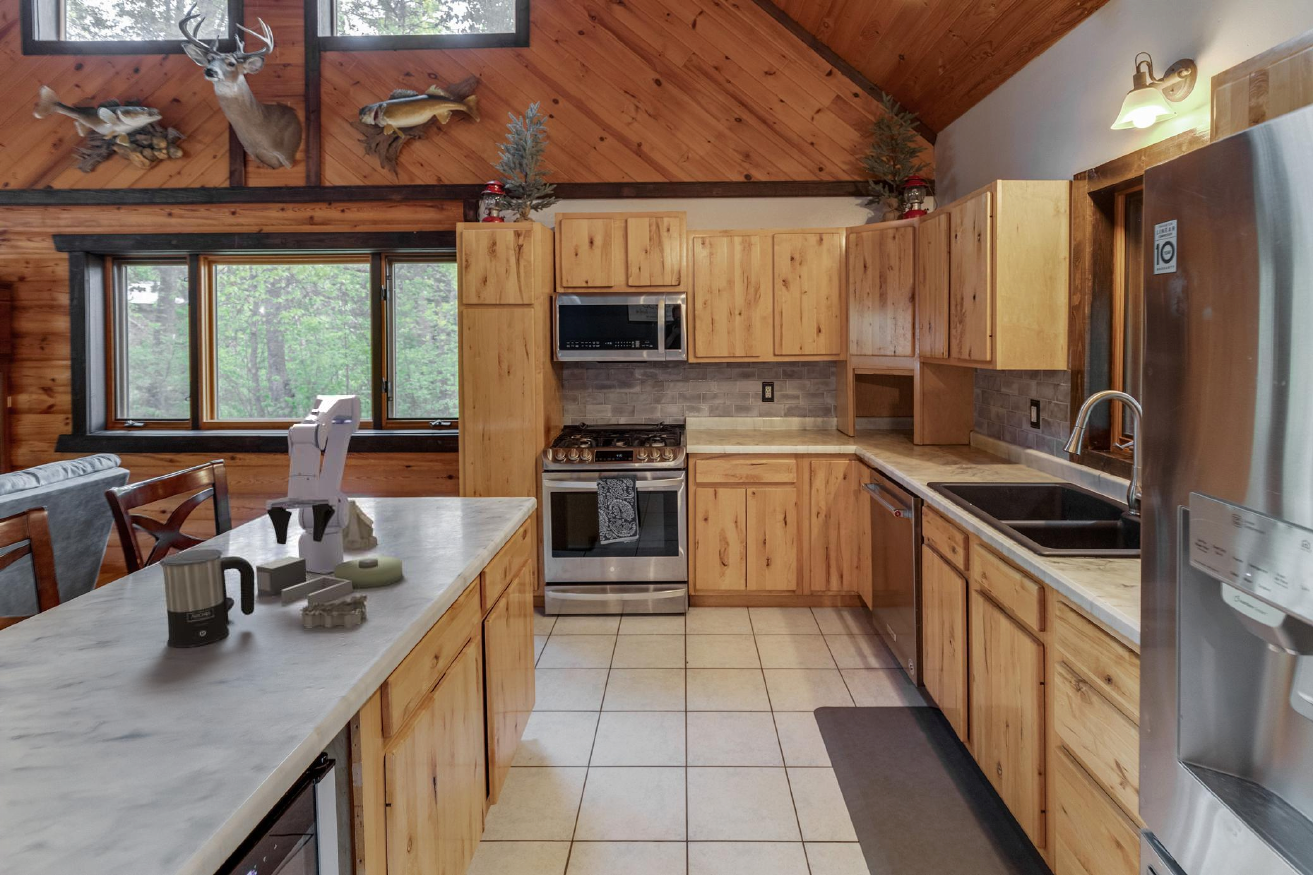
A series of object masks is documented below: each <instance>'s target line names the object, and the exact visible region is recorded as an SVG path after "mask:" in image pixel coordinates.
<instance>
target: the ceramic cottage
mask: <svg viewBox="0 0 1313 875" xmlns="http://www.w3.org/2000/svg"><path fill="white" fill-rule="evenodd" d="M348 500H349V499H348ZM349 503H350V507H349V523H348V525H347V526H346V527H345V528H344V529H342V537H343V551H360V550H368V549H372V548H374V547H376V546H377V545H378V542H379V541H378V538H377V536H376V535H374V528H373V526H372V525H373V524H374V521H373V519H372V518H371V517H369V516H368V515H367V514H366V513H365V512H364V511H363V510H362V509H361V507H360V506H359V505H358V504H357V503H356V500H355V499H350V500H349ZM367 548H368V549H367Z"/></svg>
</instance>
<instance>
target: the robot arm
mask: <svg viewBox="0 0 1313 875" xmlns="http://www.w3.org/2000/svg"><path fill="white" fill-rule="evenodd" d="M313 408H314V409H312V410H311V411H310V412H309V413H308V414H307V415H306V416H305V418H304V419H303V420H302V421H301V422H300V423H297V424H296V423H295V424H293V426H290V427H289V429H288V432H287V443H288V444H287V445H288V457H290V462H289V475H288V486H287V487H288V488H287V497H282V498H277V499H268V500H265V501H266V502H265V510H267V515H268V517H269V519H270V521H271V523H272V526H273V529H274V532H275V538H276V544H278V545H286V543H287V540H288V529H289V524H290V520H291V517H292V514H293V512H292V511H291V510H292V509H293V510H294V509H295V510H297V509H298V525H299V527H300V528H301V529H302V530H303V532H302V533H301V534H300V536H299V538H298V542H297V543H298V558H303V559H305V560H306V572H311V573H316V574H323V575H326V574H327V575H328V574H331V573H334V568H335V567H336V566H337V565H339V564H341V563H343V562H345V561H344V558H345V556H344V550H343V537H342V529H344V528H345V527H346V526H347V525H348V523H349V507H350V503H349V498H348V496H347V495H346V494H345V493H343V491H341V485H342V480H343V475H344V470H345V465H346V458H347V455H348V449H349V448H348V447H349V444H350V440H351V438H352V437H351V436H352V435H353V434H355V433H357V432H358V431H359V427H360V423H361V419H362V418H361V417H362V402H361V399H360V397H359V396H358V395H357V394H353V395H322V394H319V395H317V397H315V400H314V407H313ZM324 450H325V452H324V456H323V460H322V461H323V462H322V466H321V454H322V453H321V452H322V451H324ZM320 468H321V470H320ZM289 510H290V511H289Z"/></svg>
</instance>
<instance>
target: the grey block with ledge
mask: <svg viewBox="0 0 1313 875" xmlns="http://www.w3.org/2000/svg"><path fill="white" fill-rule="evenodd" d="M255 568H256V570H255V571H256V584H257V595H263V596H268V597H273V596H275V597H277V596H282V593H281V590H283V589H286V588H289V587H292V586H295V585H298V584H301V583H304V582H307V580H308V578H307V571H306V560H305V559H303V558H299V557H297V556H296V557H295V556H291V555H290V556H289V555H288V556H286V557H282V558H279V559H276V560H272V561H269V562H266V563H262V564H259V565H256V566H255Z"/></svg>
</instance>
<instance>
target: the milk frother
mask: <svg viewBox="0 0 1313 875" xmlns="http://www.w3.org/2000/svg"><path fill="white" fill-rule="evenodd" d="M222 555H223V551H222V550H219V549H195V550H194V549H193V550H188V551H182V552H178V553H174V554H170V555H167V556H165V557H163V558H161V560H160V561H159V562H158V563H159V565H160V566H161V567H162V569H163V571H162V572H163V582H164V591H165V593H164V594H165V600H166V601H165V602H166V611H167V627H168V628H167V629H168V631H167V632H168V639H167V642H166V643H167V645H168V646H171V647H175V648H191V647H197V646H199V647H200V646H202V645H207V644H208V645H209V644H211V643H214V642H217V641H219V640H221V639H224V638H225V637H226V636H228V635H229V633H230V629H229V627H228V624H229V623H230V622H229V621H230V620H229V612H230V610H231V609H232V608H234V604H235V600H234V598H232V597H229V596H227V586H226V574H225V572H226V571H227V570H234V569H235V570H237V571H238V572H239V576H240V578H239V579H240V611H241V613H242V614H244V615H246V616H251V615H252V614H253V613H254V612H255V569H254V567H253V566H252V564H251V563H250V562H249V561H248V560H246V558H243V557H241V556H232V555H231V556H223V557H221V556H222Z"/></svg>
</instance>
